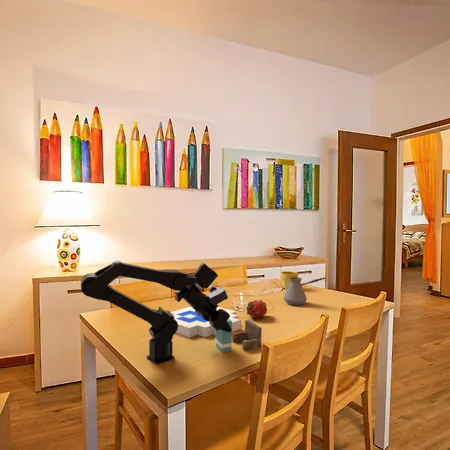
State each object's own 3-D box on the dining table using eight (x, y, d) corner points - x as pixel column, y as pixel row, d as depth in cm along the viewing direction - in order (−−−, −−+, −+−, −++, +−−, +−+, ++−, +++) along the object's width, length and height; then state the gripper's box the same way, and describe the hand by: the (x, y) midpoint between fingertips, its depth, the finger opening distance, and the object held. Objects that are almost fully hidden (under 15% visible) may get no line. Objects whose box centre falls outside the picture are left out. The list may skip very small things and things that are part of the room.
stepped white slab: (205, 332, 124) (154, 316, 141) (205, 344, 124) (154, 326, 142) (251, 315, 145) (202, 303, 163) (251, 324, 145) (202, 311, 163)
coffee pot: (279, 304, 176) (280, 274, 176) (288, 299, 186) (289, 271, 185) (321, 311, 165) (322, 279, 164) (329, 305, 174) (329, 275, 174)
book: (221, 352, 116) (222, 322, 115) (215, 346, 121) (215, 317, 121) (231, 350, 117) (232, 321, 117) (225, 344, 122) (225, 316, 122)
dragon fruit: (246, 324, 150) (262, 322, 158) (260, 315, 145) (276, 313, 154) (238, 305, 154) (255, 304, 162) (252, 296, 149) (268, 296, 158)
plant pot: (301, 289, 210) (301, 273, 209) (287, 291, 204) (288, 274, 204) (289, 286, 218) (290, 270, 218) (276, 287, 213) (277, 271, 213)
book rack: (244, 351, 117) (244, 330, 117) (232, 341, 126) (232, 321, 125) (261, 348, 120) (261, 327, 119) (248, 338, 128) (248, 319, 128)
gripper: (224, 286, 108) (255, 317, 113) (203, 275, 125) (231, 303, 130) (199, 314, 105) (233, 345, 110) (182, 299, 122) (211, 327, 127)
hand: (227, 328), depth 119 cm, fingers closed on book, 5 cm apart
